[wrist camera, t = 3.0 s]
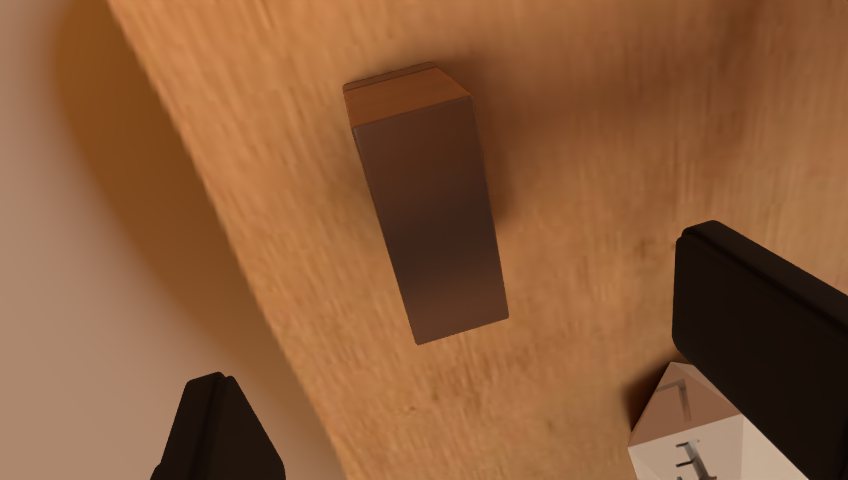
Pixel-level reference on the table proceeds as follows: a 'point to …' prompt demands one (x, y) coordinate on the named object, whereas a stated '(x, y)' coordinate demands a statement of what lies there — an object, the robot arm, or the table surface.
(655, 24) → the table surface
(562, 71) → the table surface
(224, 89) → the table surface
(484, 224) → the eraser
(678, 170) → the table surface
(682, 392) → the die
